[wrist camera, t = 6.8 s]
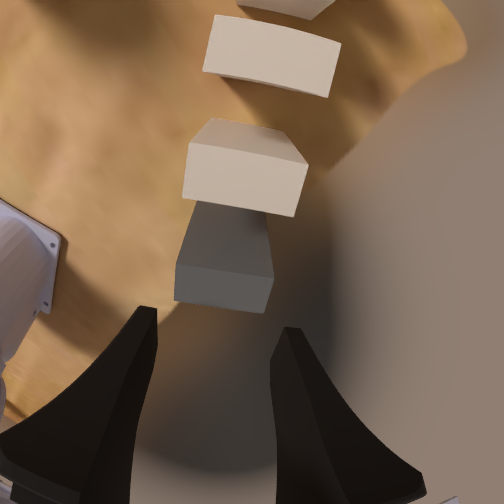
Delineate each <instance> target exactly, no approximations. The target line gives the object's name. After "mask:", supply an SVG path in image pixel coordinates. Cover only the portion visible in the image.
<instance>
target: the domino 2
mask: <svg viewBox="0 0 504 504" xmlns="http://www.w3.org/2000/svg"><path fill="white" fill-rule="evenodd" d="M308 166H309V165H308V163H307V162H306V161H305V159H304V158H303V157H302V155H301V154H300V153H299V151H298V150H297V149H296V147H295V146H294V145H293V143H292V142H291V141H290V139H289V138H288V137H287V135H286V134H285V133H284V131H281V130H276V129H272V128H267V127H262V126H257V125H252V124H247V123H242V122H236V121H231V120H225V119H219V118H212V117H211V119H210V120H209V121H208V122H207V123H206V124H205V125H204V126H203V127H202V129H201V130H200V131H199V132H198V133H197V134H196V135H195V136H194V138H193V139H192V140H191V141H190V142H189V148H188V155H187V162H186V169H185V177H184V185H183V193H182V198H186V199H192V200H199V201H205V202H211V203H217V204H223V205H229V206H235V207H240V208H246V209H252V210H257V211H263V212H268V213H273V214H279V215H284V216H290V217H294V214H295V210H296V207H297V204H298V200H299V197H300V194H301V190H302V187H303V183H304V180H305V177H306V173H307V170H308Z"/></svg>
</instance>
